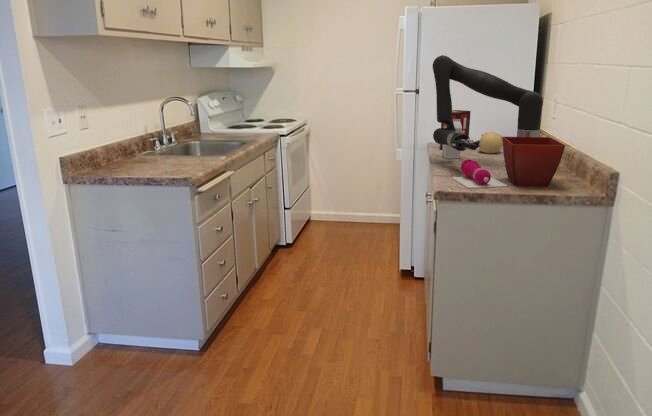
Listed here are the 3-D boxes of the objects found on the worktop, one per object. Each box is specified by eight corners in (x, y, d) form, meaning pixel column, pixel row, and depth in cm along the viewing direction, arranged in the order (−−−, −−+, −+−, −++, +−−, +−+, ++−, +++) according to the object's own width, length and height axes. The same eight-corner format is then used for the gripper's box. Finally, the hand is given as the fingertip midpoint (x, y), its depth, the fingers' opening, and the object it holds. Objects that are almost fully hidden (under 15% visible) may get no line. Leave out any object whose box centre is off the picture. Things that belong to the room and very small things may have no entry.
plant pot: (560, 189, 190) (566, 144, 185) (508, 187, 192) (512, 144, 188) (546, 177, 208) (550, 136, 203) (498, 176, 211) (501, 136, 206)
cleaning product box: (453, 145, 286) (455, 110, 280) (468, 147, 281) (470, 110, 275) (439, 149, 274) (441, 112, 268) (455, 151, 268) (457, 113, 263)
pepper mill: (468, 178, 212) (488, 192, 193) (455, 169, 210) (474, 183, 191) (479, 164, 210) (499, 177, 191) (466, 155, 208) (485, 167, 190)
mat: (450, 178, 209) (450, 177, 209) (487, 176, 211) (487, 175, 211) (468, 188, 192) (468, 187, 192) (507, 186, 194) (508, 185, 194)
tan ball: (503, 151, 266) (505, 131, 263) (497, 155, 256) (499, 134, 253) (482, 150, 272) (483, 130, 269) (475, 153, 262) (477, 132, 259)
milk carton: (460, 158, 249) (462, 119, 244) (445, 158, 249) (448, 120, 243) (455, 156, 256) (458, 118, 250) (441, 156, 255) (444, 118, 250)
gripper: (444, 132, 218) (459, 138, 202) (473, 131, 220) (490, 137, 203) (443, 149, 220) (458, 157, 204) (472, 148, 222) (489, 156, 205)
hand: (474, 147), depth 203 cm, fingers closed
